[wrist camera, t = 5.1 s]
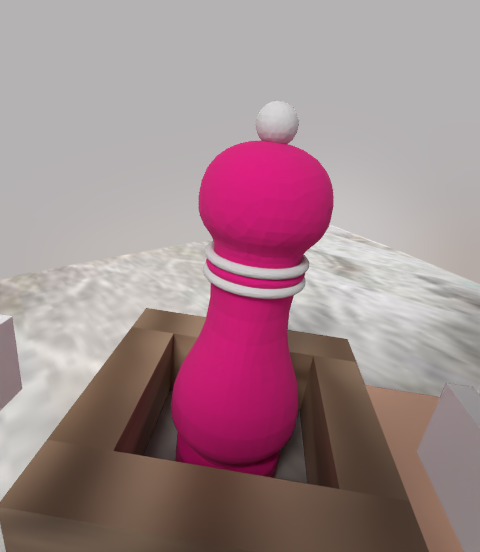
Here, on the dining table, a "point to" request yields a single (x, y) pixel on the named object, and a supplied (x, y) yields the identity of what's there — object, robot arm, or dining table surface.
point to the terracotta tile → (414, 460)
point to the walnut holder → (205, 480)
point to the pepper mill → (250, 299)
